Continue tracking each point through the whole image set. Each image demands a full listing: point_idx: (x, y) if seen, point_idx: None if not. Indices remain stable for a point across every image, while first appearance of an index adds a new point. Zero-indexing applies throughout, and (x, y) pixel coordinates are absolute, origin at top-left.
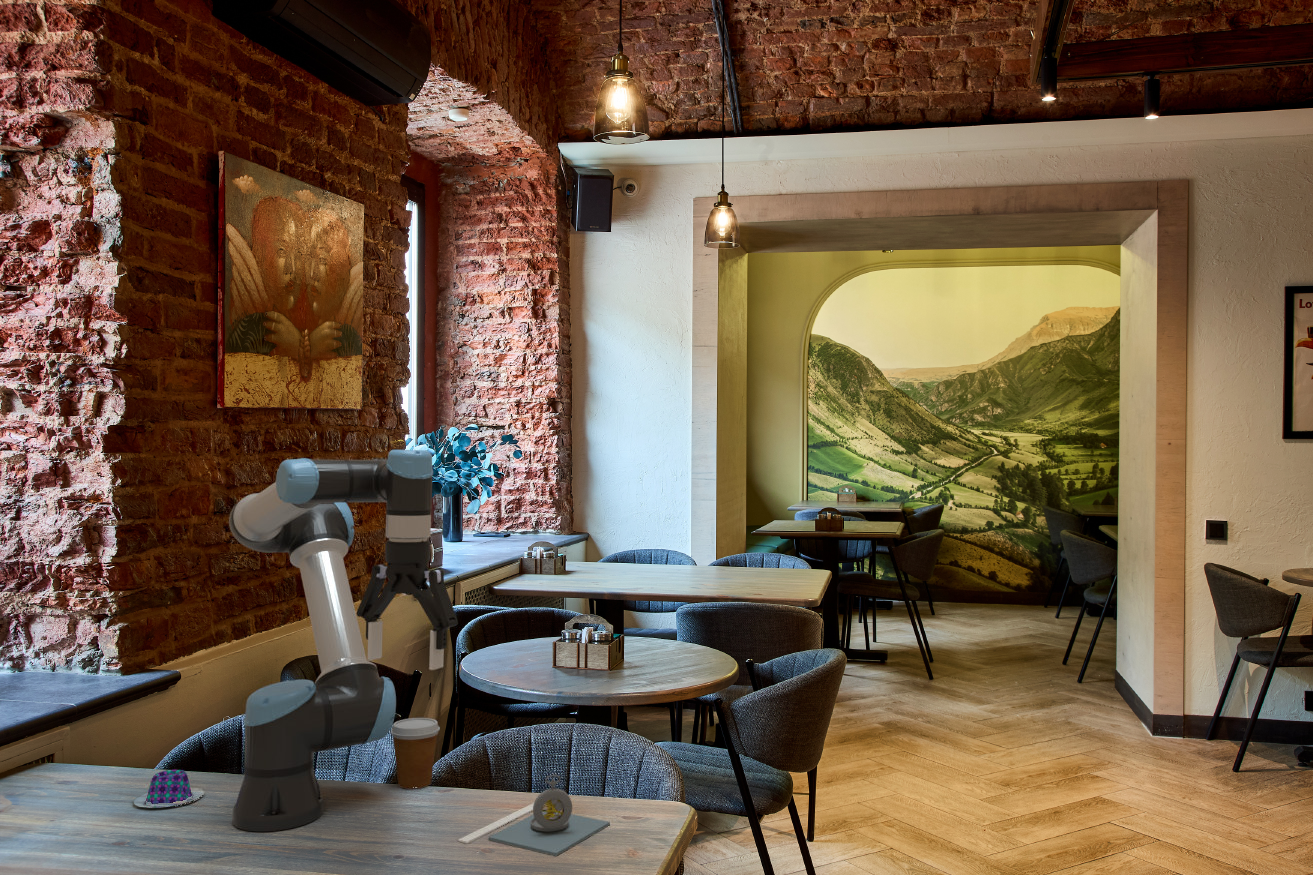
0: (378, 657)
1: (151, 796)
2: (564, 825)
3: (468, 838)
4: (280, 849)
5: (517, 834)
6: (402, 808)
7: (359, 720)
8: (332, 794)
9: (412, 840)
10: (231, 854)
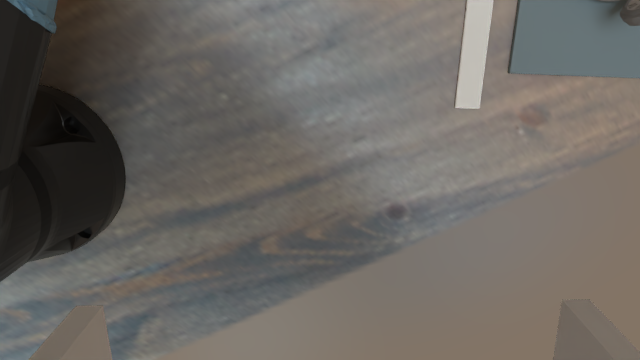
0: (105, 335)
1: None
2: None
3: (470, 93)
4: (189, 275)
5: (561, 31)
6: (216, 6)
7: (23, 85)
8: None
9: (367, 143)
10: (140, 321)
